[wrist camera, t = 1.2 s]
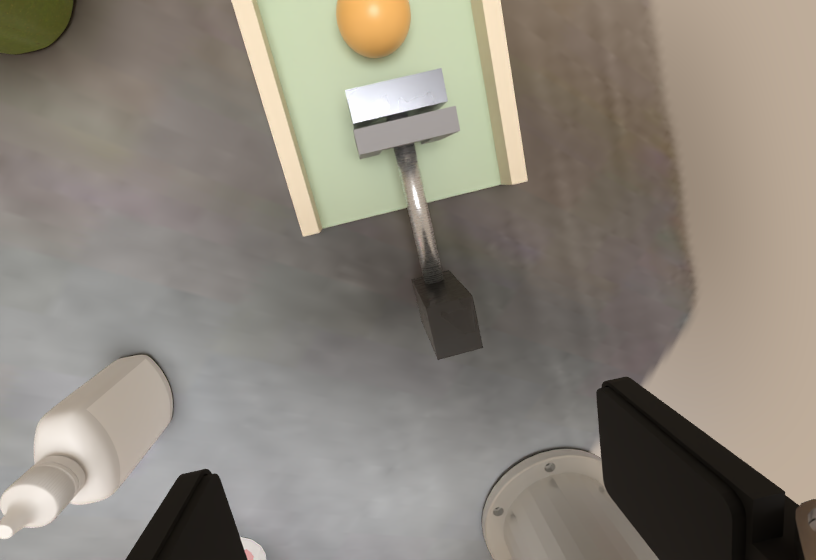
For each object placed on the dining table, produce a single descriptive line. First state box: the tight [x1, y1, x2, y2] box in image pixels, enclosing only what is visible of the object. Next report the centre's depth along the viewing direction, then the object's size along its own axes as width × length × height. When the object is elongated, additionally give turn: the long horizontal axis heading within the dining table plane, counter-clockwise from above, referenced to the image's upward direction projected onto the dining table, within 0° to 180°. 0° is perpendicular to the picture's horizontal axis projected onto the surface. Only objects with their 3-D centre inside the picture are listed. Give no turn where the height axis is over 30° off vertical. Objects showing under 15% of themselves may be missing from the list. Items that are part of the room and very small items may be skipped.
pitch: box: [231, 0, 528, 237], centre depth 21 cm, size 20×14×8 cm
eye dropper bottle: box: [0, 355, 173, 539], centre depth 23 cm, size 4×6×12 cm
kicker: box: [345, 68, 483, 360], centre depth 23 cm, size 14×5×6 cm, turn 13°
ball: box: [336, 0, 411, 58], centre depth 22 cm, size 4×4×4 cm
